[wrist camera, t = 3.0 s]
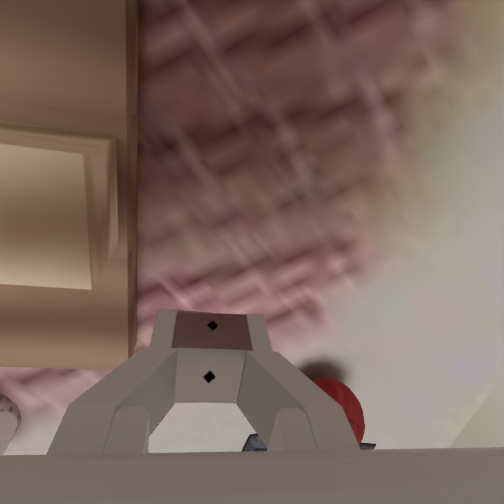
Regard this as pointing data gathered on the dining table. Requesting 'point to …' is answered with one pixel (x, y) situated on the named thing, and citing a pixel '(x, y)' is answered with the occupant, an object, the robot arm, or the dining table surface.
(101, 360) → the board
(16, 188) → the birch block
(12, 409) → the mug
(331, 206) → the dining table surface
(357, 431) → the onion
